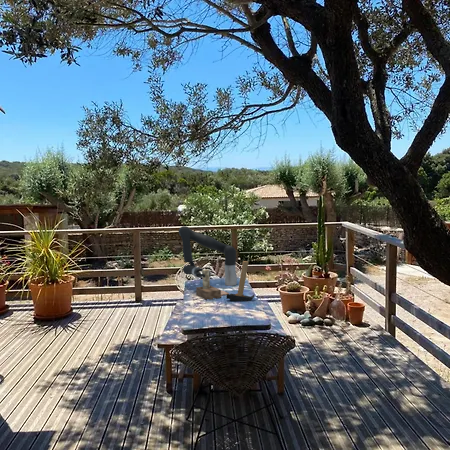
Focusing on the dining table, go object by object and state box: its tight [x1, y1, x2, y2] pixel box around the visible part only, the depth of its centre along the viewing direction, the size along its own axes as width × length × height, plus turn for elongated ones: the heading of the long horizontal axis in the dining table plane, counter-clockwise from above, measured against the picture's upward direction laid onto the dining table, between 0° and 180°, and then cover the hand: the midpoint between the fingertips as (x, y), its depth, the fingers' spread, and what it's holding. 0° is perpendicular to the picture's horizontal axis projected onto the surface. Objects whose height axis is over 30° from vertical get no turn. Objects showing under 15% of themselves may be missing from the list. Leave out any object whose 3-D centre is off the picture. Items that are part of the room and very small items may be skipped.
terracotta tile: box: [220, 289, 230, 297], centre depth 335 cm, size 8×12×1 cm, turn 29°
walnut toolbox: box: [195, 285, 222, 301], centre depth 327 cm, size 12×18×6 cm, turn 29°
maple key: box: [202, 269, 211, 289], centre depth 330 cm, size 4×4×16 cm
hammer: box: [225, 260, 255, 302], centre depth 312 cm, size 20×5×30 cm, turn 91°
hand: (207, 275), depth 327 cm, fingers closed on maple key, 4 cm apart
